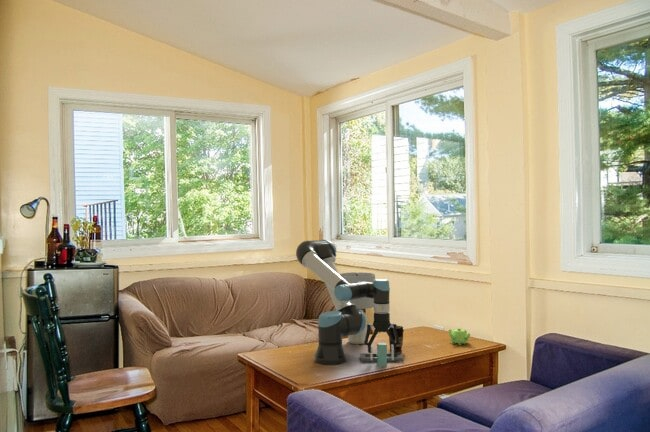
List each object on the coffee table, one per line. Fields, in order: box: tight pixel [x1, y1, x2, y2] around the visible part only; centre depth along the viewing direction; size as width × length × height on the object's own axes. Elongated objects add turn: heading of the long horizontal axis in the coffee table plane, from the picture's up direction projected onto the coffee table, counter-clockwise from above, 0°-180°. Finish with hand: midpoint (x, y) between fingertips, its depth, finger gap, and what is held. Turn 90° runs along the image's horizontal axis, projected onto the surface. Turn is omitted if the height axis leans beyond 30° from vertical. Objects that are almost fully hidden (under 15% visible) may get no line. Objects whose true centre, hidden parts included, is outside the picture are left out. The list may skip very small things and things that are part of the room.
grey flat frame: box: [359, 352, 404, 363], centre depth 255 cm, size 20×9×2 cm, turn 93°
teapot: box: [448, 327, 471, 346], centre depth 285 cm, size 11×12×8 cm
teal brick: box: [376, 342, 388, 367], centre depth 246 cm, size 4×4×10 cm
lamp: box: [339, 271, 376, 345], centre depth 289 cm, size 20×20×39 cm
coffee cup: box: [388, 325, 405, 354], centre depth 269 cm, size 9×8×13 cm
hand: (382, 359), depth 246 cm, fingers open, 9 cm apart
